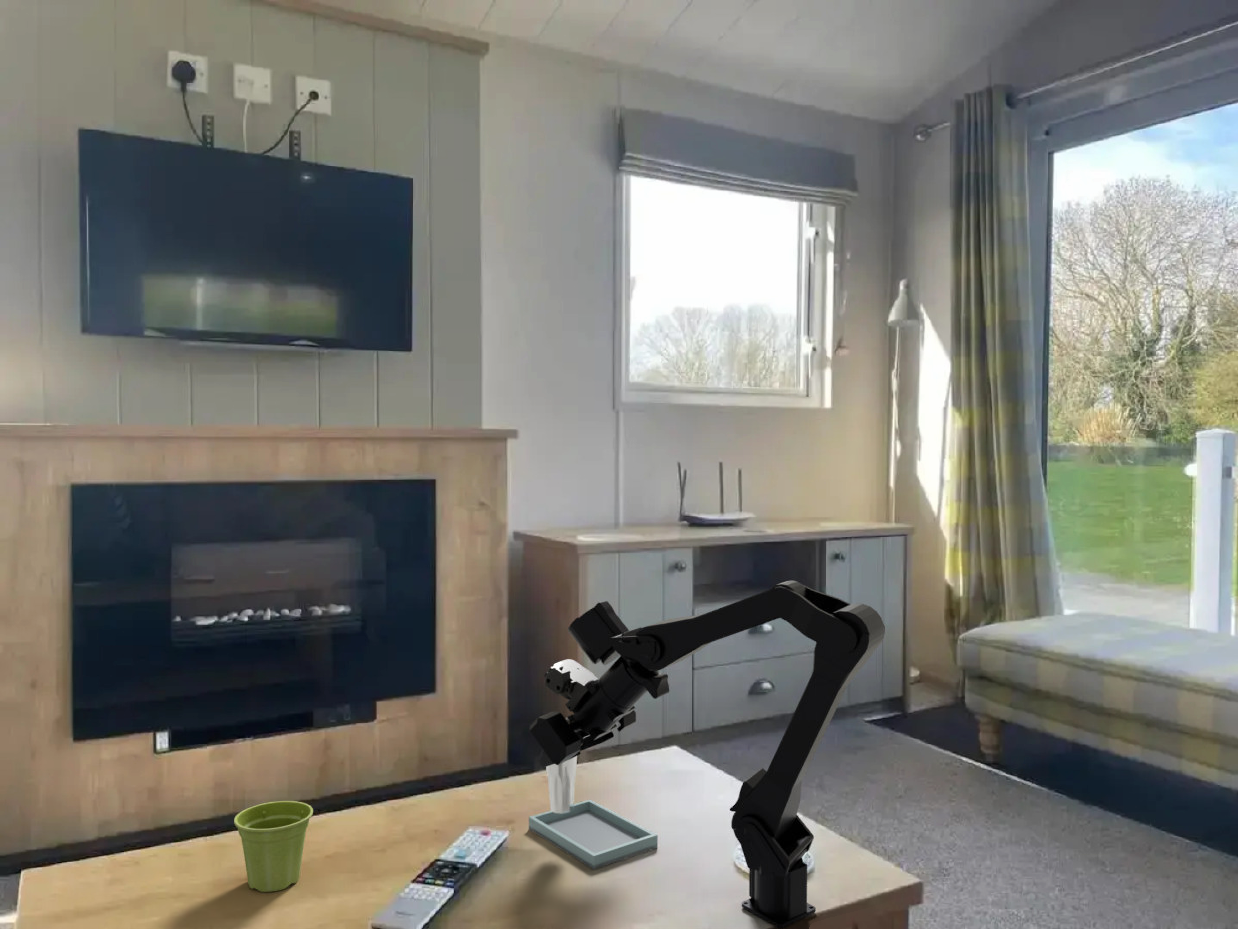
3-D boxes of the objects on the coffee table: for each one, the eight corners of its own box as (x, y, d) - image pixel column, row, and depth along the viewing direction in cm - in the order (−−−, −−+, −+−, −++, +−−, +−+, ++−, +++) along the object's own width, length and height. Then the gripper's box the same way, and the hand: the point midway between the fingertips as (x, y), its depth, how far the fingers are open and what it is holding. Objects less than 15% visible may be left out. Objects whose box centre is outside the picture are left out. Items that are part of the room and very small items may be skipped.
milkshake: (560, 798, 131) (559, 729, 131) (584, 809, 127) (584, 737, 127) (535, 807, 128) (534, 736, 128) (559, 818, 124) (558, 745, 124)
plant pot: (235, 871, 120) (235, 805, 120) (311, 860, 123) (311, 796, 123) (232, 905, 111) (232, 834, 111) (314, 892, 115) (314, 823, 114)
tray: (657, 847, 128) (657, 835, 128) (593, 869, 121) (593, 856, 121) (589, 811, 140) (589, 799, 140) (528, 829, 134) (528, 817, 134)
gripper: (617, 632, 133) (555, 698, 139) (541, 656, 117) (475, 730, 123) (665, 693, 129) (600, 758, 135) (593, 727, 113) (522, 799, 119)
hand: (550, 759), depth 128 cm, fingers closed on milkshake, 4 cm apart
